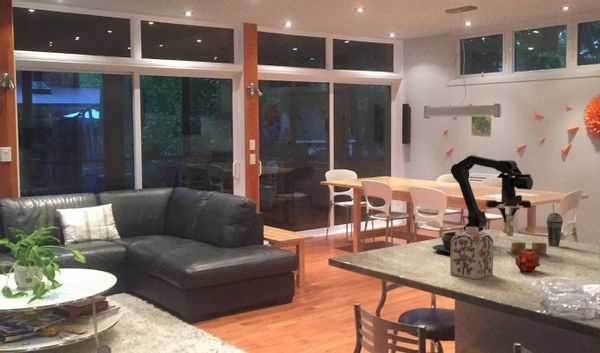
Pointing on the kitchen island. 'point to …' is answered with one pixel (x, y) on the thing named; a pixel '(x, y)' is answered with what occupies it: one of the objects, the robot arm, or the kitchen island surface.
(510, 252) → the rubber mat
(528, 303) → the kitchen island surface
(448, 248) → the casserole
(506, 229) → the upright wooden plank
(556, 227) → the beverage cup
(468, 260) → the decorative jar
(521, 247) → the walnut board
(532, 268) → the dragon fruit
